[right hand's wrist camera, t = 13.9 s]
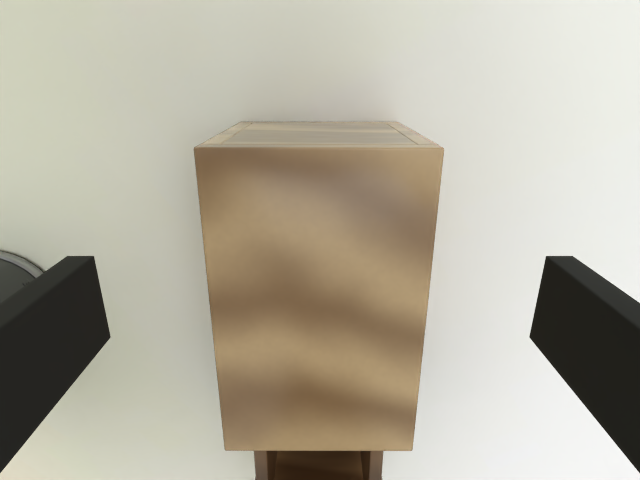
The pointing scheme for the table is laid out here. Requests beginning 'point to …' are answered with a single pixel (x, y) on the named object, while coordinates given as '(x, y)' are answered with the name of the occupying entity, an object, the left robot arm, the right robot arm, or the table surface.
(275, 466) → the drawer
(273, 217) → the cabinet
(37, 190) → the table surface
